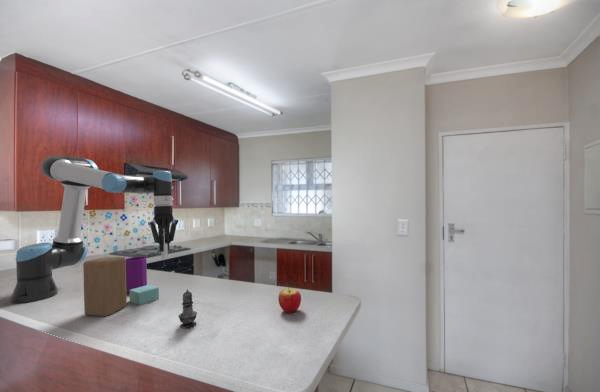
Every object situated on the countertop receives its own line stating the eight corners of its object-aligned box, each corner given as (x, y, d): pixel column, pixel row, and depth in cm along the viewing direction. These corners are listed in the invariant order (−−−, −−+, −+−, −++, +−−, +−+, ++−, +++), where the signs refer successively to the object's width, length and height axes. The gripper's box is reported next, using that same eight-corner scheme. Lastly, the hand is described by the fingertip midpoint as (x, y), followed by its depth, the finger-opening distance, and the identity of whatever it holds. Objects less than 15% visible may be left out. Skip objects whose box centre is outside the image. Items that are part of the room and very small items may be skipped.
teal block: (129, 301, 118) (129, 289, 118) (148, 296, 125) (148, 284, 125) (139, 305, 114) (139, 293, 114) (158, 299, 121) (158, 287, 121)
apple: (290, 304, 110) (290, 279, 110) (306, 310, 104) (305, 283, 104) (274, 311, 104) (273, 283, 104) (289, 317, 98) (289, 288, 98)
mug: (134, 294, 127) (133, 261, 127) (110, 291, 133) (109, 259, 133) (151, 288, 135) (150, 256, 135) (128, 285, 141) (128, 255, 141)
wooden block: (105, 317, 102) (104, 262, 103) (83, 315, 104) (81, 261, 105) (127, 306, 112) (126, 256, 112) (106, 305, 114) (105, 256, 114)
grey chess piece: (186, 331, 90) (185, 293, 90) (174, 326, 93) (173, 290, 93) (201, 323, 95) (200, 287, 95) (190, 320, 98) (189, 285, 98)
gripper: (152, 206, 119) (154, 262, 119) (181, 204, 130) (182, 256, 130) (144, 206, 124) (145, 260, 124) (172, 205, 134) (174, 254, 134)
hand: (164, 258), depth 127 cm, fingers closed
